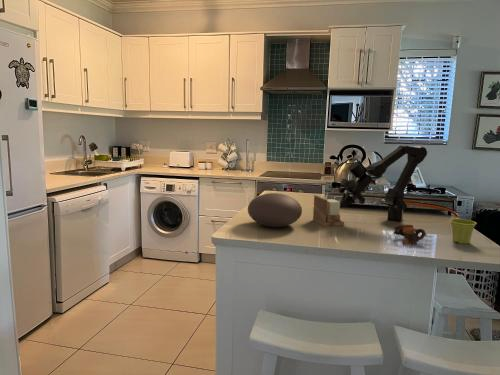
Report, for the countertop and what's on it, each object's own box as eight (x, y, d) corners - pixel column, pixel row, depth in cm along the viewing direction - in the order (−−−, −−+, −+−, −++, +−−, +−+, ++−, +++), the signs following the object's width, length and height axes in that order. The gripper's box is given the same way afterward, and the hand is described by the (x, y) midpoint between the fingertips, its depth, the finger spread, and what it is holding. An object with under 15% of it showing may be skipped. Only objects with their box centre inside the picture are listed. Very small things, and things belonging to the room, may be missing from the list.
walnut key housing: (332, 219, 189) (334, 194, 187) (343, 225, 177) (345, 199, 175) (312, 219, 186) (314, 195, 184) (323, 226, 175) (324, 199, 173)
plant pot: (452, 244, 151) (454, 223, 150) (444, 237, 161) (447, 217, 159) (477, 246, 150) (480, 225, 148) (468, 239, 159) (471, 219, 158)
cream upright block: (332, 216, 186) (334, 199, 184) (339, 220, 179) (340, 202, 178) (322, 217, 185) (323, 199, 183) (329, 220, 178) (330, 202, 176)
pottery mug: (395, 245, 150) (391, 225, 153) (396, 249, 158) (393, 230, 161) (428, 241, 145) (423, 221, 148) (427, 246, 154) (423, 226, 157)
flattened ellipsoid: (291, 235, 158) (292, 201, 155) (238, 228, 168) (238, 195, 165) (307, 223, 180) (309, 192, 177) (259, 216, 190) (260, 187, 188)
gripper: (342, 170, 189) (320, 192, 189) (361, 175, 172) (337, 199, 171) (355, 186, 193) (333, 207, 192) (375, 192, 175) (352, 216, 174)
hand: (338, 207), depth 182 cm, fingers closed
